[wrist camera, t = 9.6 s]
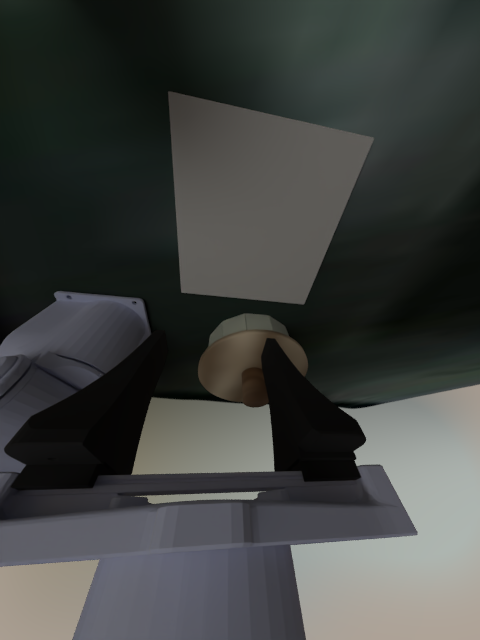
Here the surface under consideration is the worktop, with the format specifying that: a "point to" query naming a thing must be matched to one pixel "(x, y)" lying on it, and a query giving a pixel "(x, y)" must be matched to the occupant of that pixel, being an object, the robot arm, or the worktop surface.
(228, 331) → the bowl
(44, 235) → the worktop surface
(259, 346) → the lid
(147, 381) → the robot arm
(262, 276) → the mat
